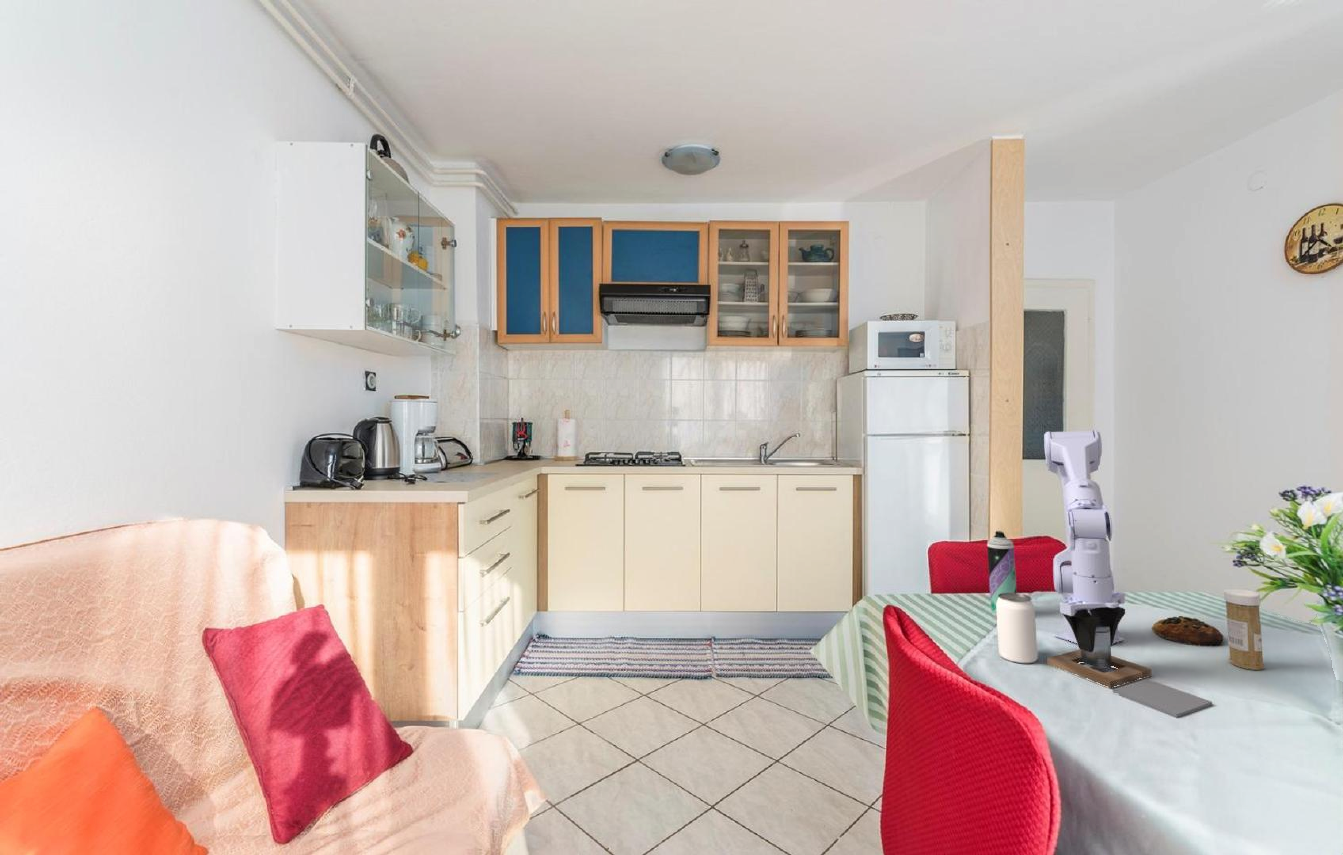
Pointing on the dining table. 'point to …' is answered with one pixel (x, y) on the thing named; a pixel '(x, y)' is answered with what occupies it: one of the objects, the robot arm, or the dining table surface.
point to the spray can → (1000, 568)
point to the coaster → (1162, 697)
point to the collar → (1113, 678)
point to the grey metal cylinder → (1099, 648)
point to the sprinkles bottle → (1244, 628)
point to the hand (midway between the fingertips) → (1095, 647)
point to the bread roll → (1188, 631)
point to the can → (1016, 628)
